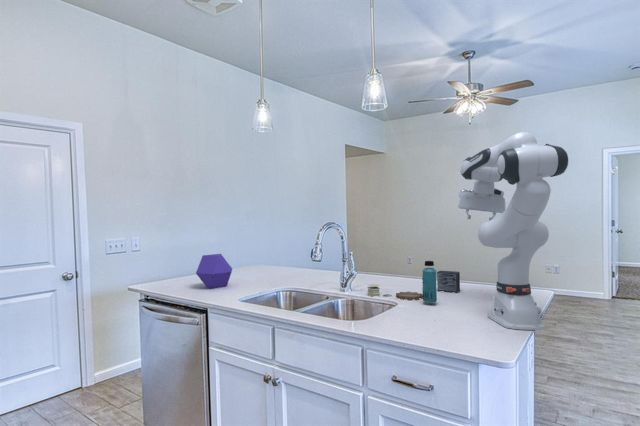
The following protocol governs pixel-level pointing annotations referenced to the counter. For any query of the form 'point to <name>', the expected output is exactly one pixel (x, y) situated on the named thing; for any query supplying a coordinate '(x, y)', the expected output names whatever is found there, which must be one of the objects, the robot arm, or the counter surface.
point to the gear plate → (409, 295)
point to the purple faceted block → (214, 271)
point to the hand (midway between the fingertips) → (479, 220)
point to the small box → (448, 281)
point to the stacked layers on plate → (373, 290)
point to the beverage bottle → (429, 283)
